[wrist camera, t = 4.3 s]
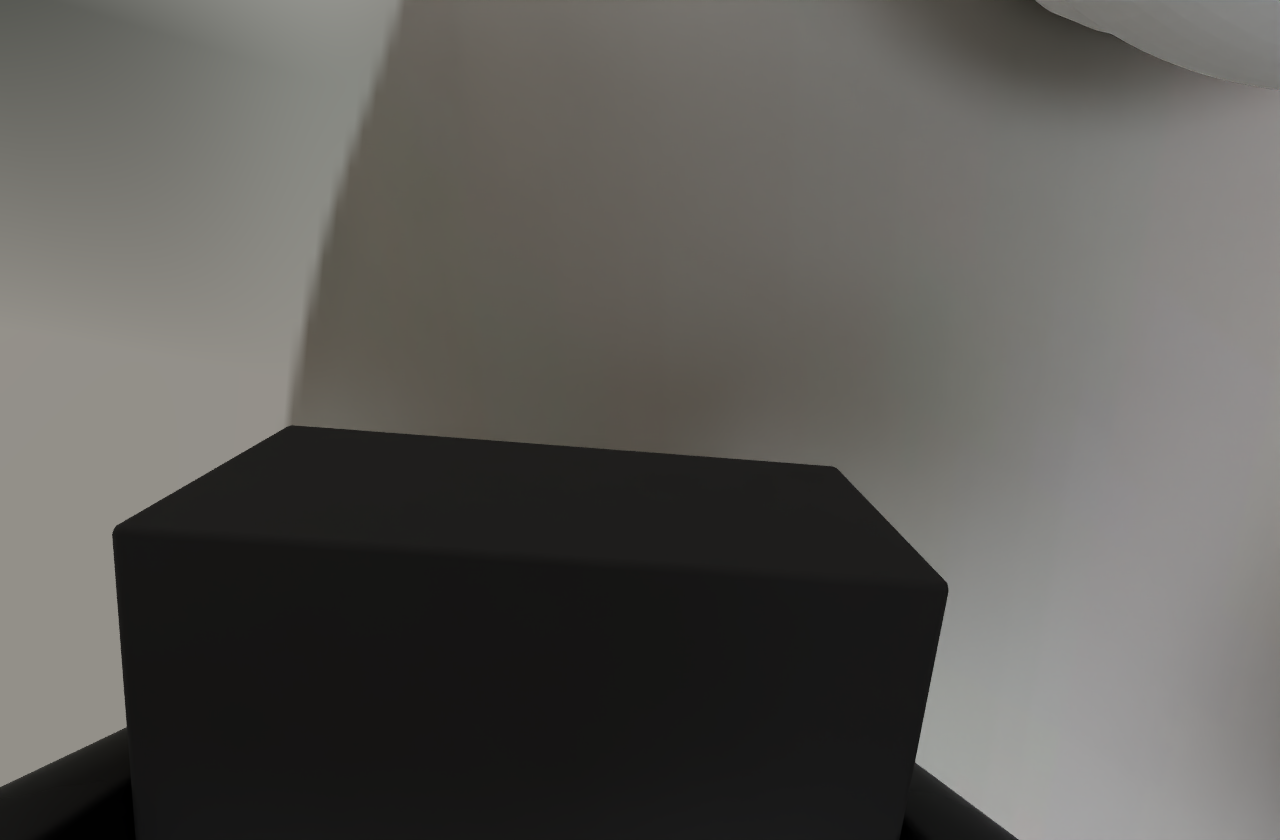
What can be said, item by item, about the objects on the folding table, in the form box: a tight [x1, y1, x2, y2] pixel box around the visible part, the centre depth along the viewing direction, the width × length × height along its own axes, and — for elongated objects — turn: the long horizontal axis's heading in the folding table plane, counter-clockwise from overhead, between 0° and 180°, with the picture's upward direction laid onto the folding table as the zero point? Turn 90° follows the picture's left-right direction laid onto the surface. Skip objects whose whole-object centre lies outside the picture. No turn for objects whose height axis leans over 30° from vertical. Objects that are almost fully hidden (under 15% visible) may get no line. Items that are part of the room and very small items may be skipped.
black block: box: [112, 425, 948, 840], centre depth 8 cm, size 6×6×3 cm
